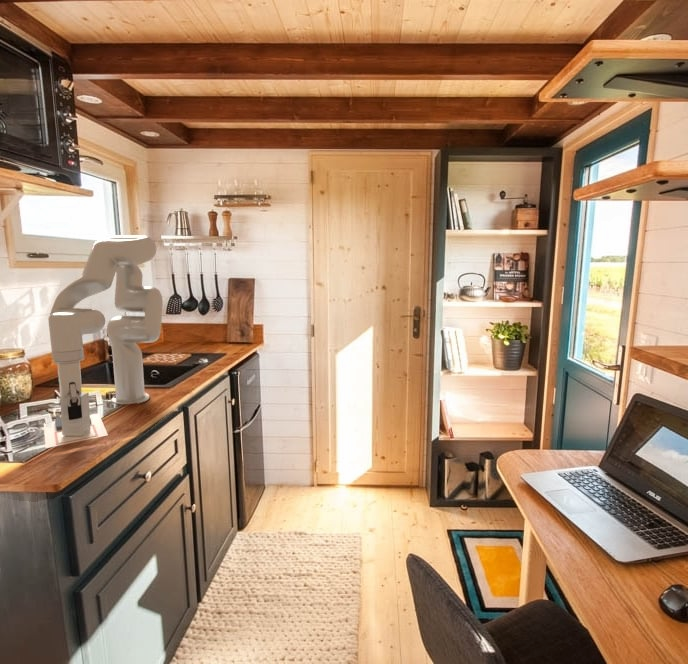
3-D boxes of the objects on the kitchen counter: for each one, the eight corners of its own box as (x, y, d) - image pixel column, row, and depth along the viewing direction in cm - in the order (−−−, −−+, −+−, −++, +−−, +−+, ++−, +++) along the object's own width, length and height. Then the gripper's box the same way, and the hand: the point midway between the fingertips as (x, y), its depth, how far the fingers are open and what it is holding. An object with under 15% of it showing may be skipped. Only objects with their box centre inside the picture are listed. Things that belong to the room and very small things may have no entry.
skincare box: (91, 430, 125) (89, 392, 123) (83, 436, 120) (81, 396, 119) (70, 430, 124) (68, 391, 122) (61, 435, 120) (59, 396, 118)
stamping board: (43, 425, 129) (43, 422, 129) (98, 415, 138) (98, 413, 138) (45, 450, 113) (45, 447, 113) (108, 437, 122) (108, 434, 122)
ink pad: (55, 422, 130) (54, 418, 130) (88, 416, 136) (88, 412, 135) (56, 430, 124) (56, 426, 124) (91, 424, 129) (91, 420, 129)
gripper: (51, 351, 122) (57, 408, 126) (53, 364, 109) (60, 427, 112) (80, 348, 127) (86, 403, 130) (87, 360, 113) (92, 421, 116)
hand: (74, 414), depth 121 cm, fingers open, 7 cm apart
